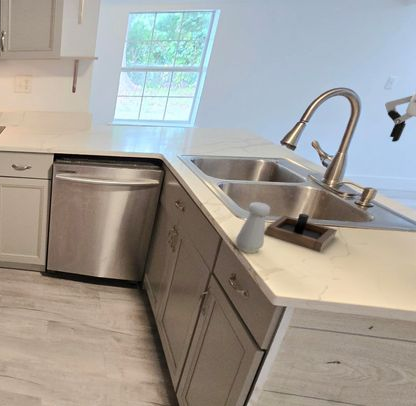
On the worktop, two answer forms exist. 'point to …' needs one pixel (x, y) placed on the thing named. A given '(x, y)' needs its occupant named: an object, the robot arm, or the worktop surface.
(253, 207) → the salt shaker
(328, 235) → the walnut frame
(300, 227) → the peg stand
